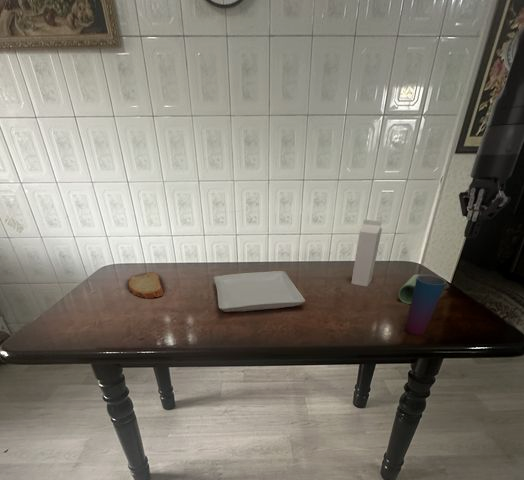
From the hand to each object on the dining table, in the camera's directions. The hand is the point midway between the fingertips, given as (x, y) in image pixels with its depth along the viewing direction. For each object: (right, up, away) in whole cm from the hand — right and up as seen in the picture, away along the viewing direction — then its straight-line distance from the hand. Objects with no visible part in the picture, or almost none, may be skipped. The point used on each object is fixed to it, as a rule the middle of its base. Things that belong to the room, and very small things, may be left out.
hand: (469, 237), depth 73 cm
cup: (-7, -22, +12) cm, 26 cm away
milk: (-13, -2, +40) cm, 42 cm away
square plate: (-53, -9, +31) cm, 62 cm away
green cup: (+3, -4, +31) cm, 31 cm away
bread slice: (-93, -4, +39) cm, 101 cm away
